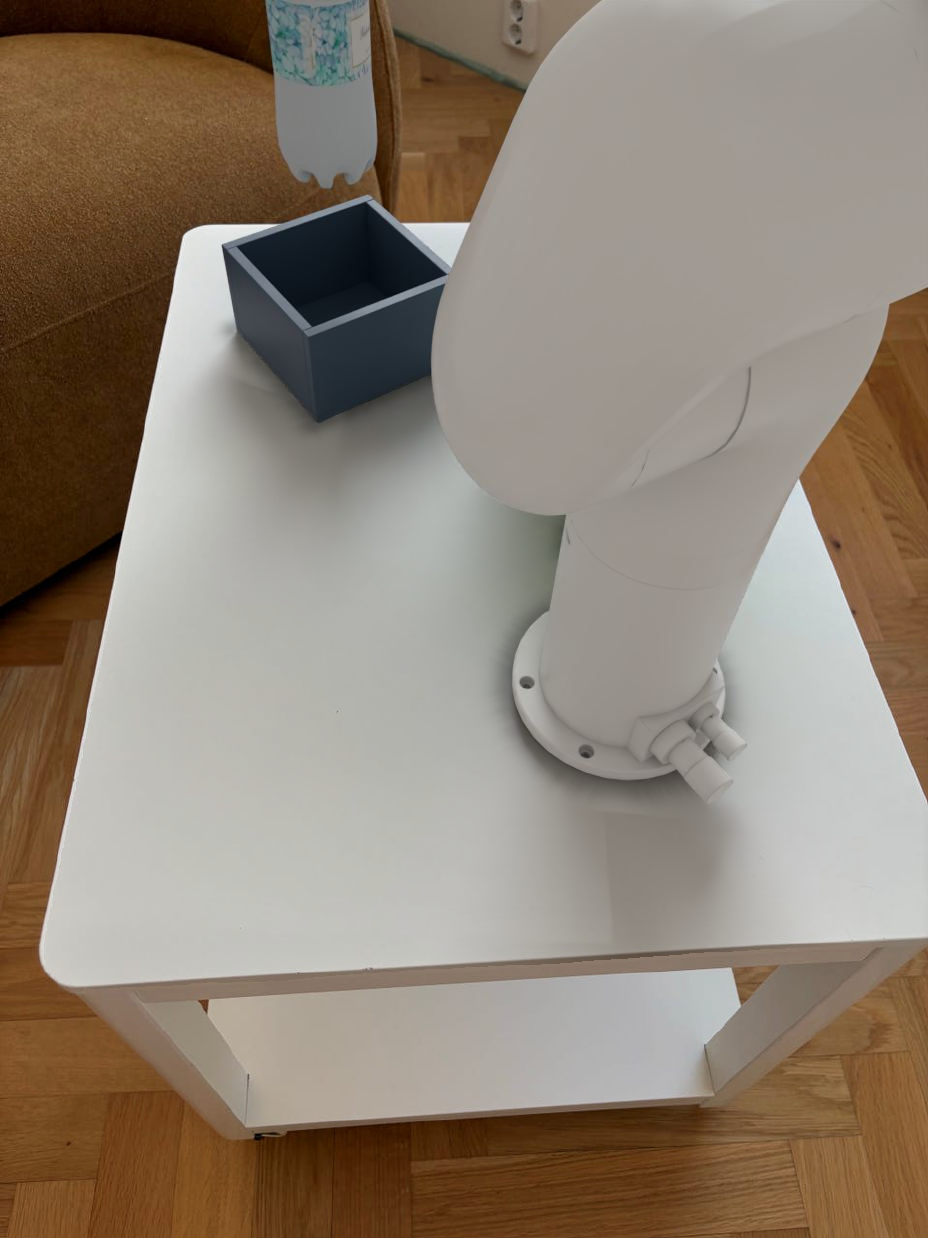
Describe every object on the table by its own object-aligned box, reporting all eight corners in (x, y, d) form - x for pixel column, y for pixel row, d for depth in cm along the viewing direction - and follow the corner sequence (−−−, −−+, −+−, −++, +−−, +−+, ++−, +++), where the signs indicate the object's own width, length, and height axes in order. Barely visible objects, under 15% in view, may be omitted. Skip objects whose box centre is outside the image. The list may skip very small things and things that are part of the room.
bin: (459, 362, 77) (462, 276, 71) (317, 422, 72) (308, 337, 66) (372, 279, 83) (368, 193, 77) (236, 330, 78) (220, 244, 72)
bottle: (377, 200, 63) (364, -193, 47) (272, 195, 63) (222, -200, 47) (384, 145, 67) (374, -235, 51) (285, 140, 67) (243, -242, 51)
